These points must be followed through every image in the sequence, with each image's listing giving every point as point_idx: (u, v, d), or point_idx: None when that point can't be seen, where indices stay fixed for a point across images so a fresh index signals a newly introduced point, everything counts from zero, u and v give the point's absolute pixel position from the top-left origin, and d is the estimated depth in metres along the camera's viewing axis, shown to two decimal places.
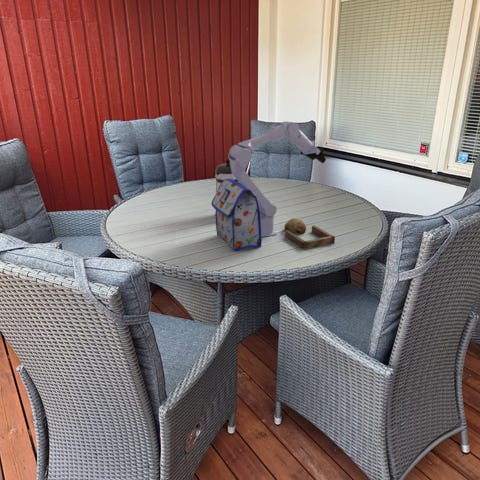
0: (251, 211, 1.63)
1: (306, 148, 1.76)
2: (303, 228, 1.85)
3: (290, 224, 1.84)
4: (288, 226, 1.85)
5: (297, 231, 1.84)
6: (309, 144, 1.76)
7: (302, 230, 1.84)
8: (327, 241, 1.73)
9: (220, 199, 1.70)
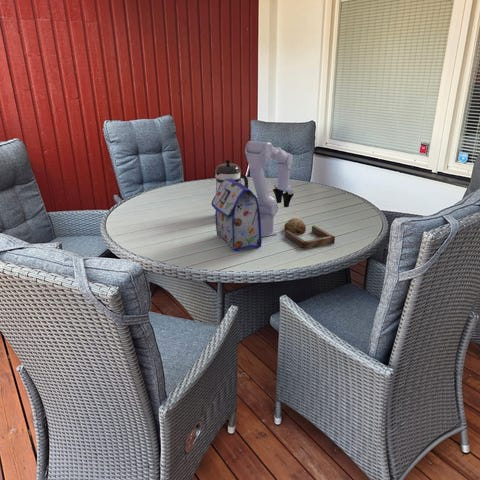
0: (251, 211, 1.63)
1: (283, 184, 1.89)
2: (303, 228, 1.85)
3: (290, 224, 1.85)
4: (288, 226, 1.85)
5: (297, 231, 1.84)
6: (287, 183, 1.89)
7: (302, 230, 1.85)
8: (327, 241, 1.73)
9: (220, 199, 1.70)
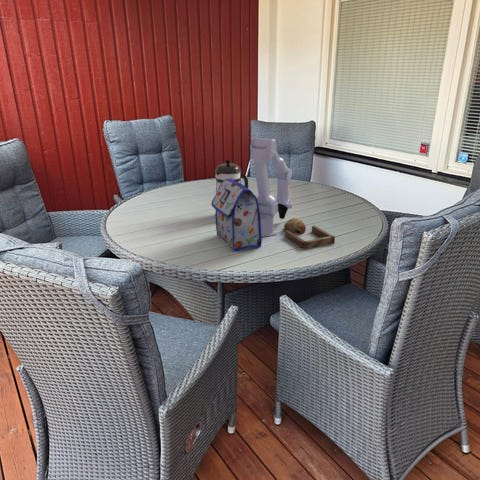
0: (251, 211, 1.63)
1: (283, 198, 1.91)
2: (303, 228, 1.85)
3: (290, 224, 1.85)
4: (288, 226, 1.85)
5: (297, 231, 1.85)
6: (287, 197, 1.92)
7: (302, 230, 1.85)
8: (327, 241, 1.73)
9: (220, 199, 1.70)
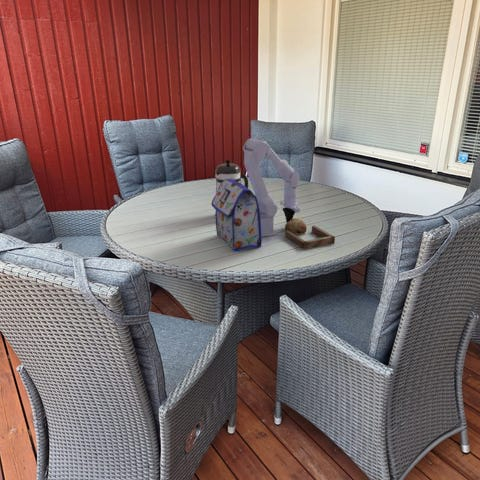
0: (251, 211, 1.63)
1: (290, 202, 1.86)
2: (304, 228, 1.84)
3: (291, 224, 1.84)
4: (288, 226, 1.84)
5: (297, 231, 1.84)
6: (294, 201, 1.86)
7: (303, 230, 1.84)
8: (327, 241, 1.73)
9: (220, 199, 1.70)
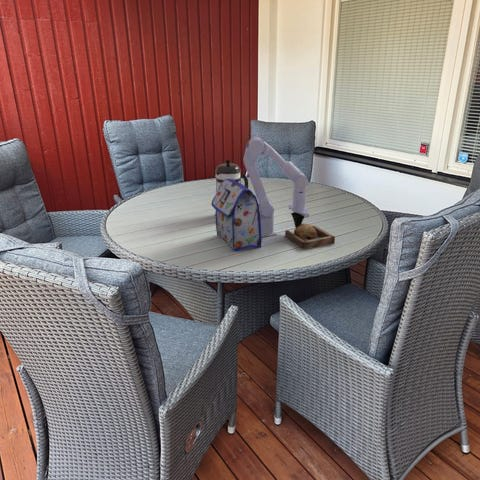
0: (251, 211, 1.63)
1: (299, 207, 1.79)
2: (313, 234, 1.77)
3: (300, 229, 1.77)
4: (298, 232, 1.78)
5: (307, 237, 1.77)
6: (303, 206, 1.80)
7: (312, 236, 1.77)
8: (327, 241, 1.73)
9: (220, 199, 1.70)
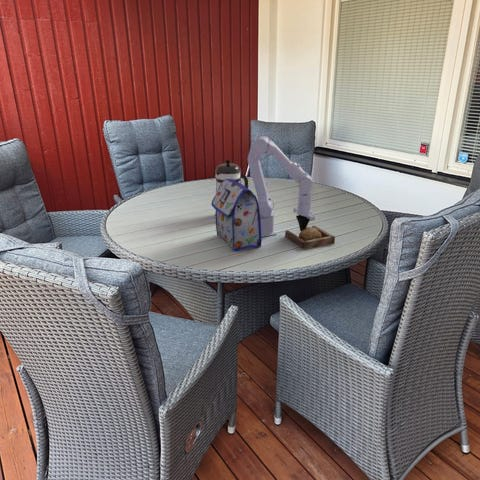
0: (251, 211, 1.63)
1: (304, 209, 1.75)
2: None
3: (306, 233, 1.74)
4: (303, 235, 1.74)
5: None
6: (309, 209, 1.76)
7: None
8: (327, 241, 1.73)
9: (220, 199, 1.70)
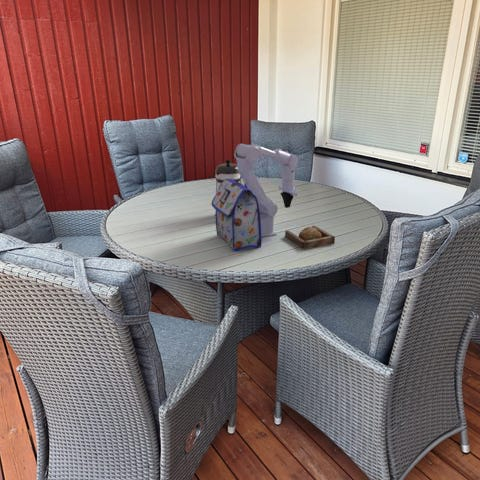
0: (251, 211, 1.63)
1: (288, 186, 1.83)
2: (319, 237, 1.74)
3: (305, 233, 1.74)
4: (303, 235, 1.74)
5: None
6: (292, 185, 1.84)
7: None
8: (327, 241, 1.73)
9: (220, 199, 1.70)
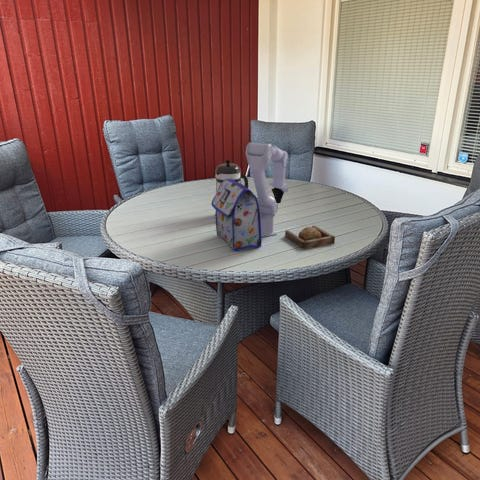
0: (251, 211, 1.63)
1: (279, 182, 1.88)
2: (319, 237, 1.74)
3: (305, 233, 1.74)
4: (303, 235, 1.74)
5: None
6: (283, 181, 1.89)
7: None
8: (327, 241, 1.73)
9: (220, 199, 1.70)
